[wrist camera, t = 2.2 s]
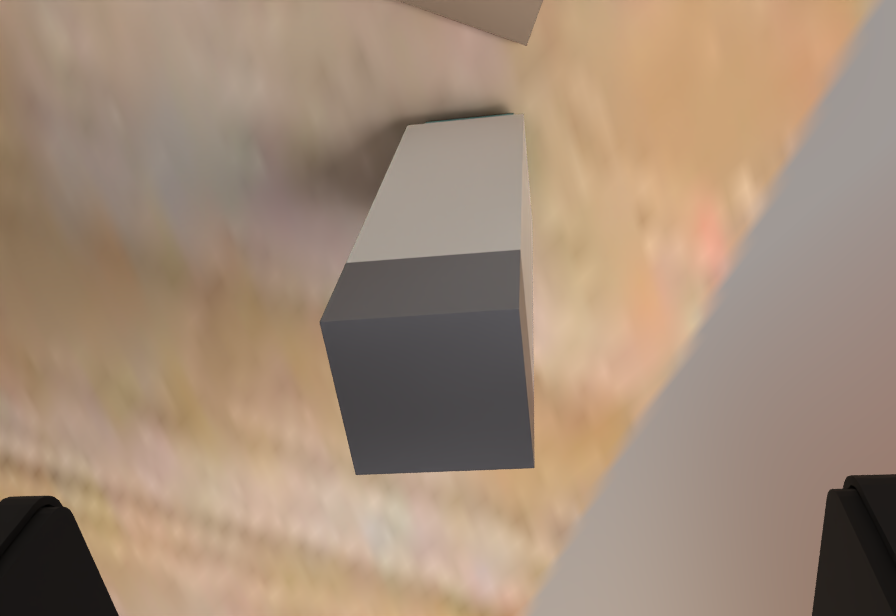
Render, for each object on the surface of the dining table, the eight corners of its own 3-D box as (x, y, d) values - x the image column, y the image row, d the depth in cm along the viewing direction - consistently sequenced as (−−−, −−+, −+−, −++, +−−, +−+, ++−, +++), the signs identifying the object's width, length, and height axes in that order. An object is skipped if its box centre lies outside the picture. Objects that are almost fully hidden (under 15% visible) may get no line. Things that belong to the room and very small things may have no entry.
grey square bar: (413, 112, 22) (319, 321, 12) (523, 100, 21) (518, 309, 12) (428, 214, 23) (356, 475, 13) (532, 205, 23) (534, 467, 13)
